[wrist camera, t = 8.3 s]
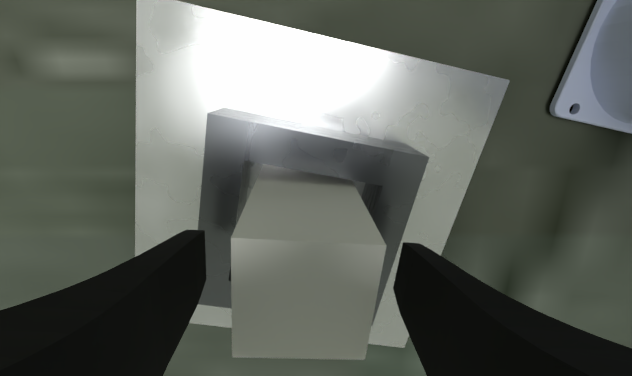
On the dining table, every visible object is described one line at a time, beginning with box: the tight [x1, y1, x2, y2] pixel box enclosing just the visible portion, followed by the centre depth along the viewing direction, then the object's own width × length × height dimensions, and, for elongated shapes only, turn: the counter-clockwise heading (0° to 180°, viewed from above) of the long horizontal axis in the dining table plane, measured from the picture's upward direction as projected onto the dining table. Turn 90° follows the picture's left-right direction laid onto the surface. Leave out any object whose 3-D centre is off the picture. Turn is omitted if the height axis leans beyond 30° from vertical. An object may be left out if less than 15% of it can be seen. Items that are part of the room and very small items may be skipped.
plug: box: [231, 165, 387, 360], centre depth 12 cm, size 4×4×7 cm
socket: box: [135, 0, 510, 348], centre depth 14 cm, size 16×16×4 cm
